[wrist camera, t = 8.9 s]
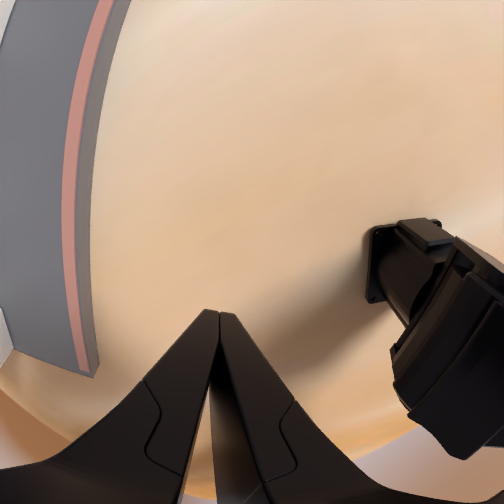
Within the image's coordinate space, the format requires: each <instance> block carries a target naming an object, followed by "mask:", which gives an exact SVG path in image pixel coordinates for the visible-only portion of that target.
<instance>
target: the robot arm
mask: <svg viewBox="0 0 504 504" xmlns="http://www.w3.org/2000/svg"><path fill="white" fill-rule="evenodd" d="M436 224H437V225H436ZM377 231H379V234H378V235H376V236H375V234H376V232H377ZM372 296H373V297H372ZM371 297H372V298H371ZM365 298H366V300H367V302H368V303H370V304H373V303H378V302H383V301H387V303H388V304H389V306H390V307H391V308H392V310H393V311H394V312H395V314H396V315H397V317H398V318H399V320H400V321H401V322H402V324H403V325H404V327H405V328H406V329H405V331H404V332H403V334H402V335H401V337H400V338H399V340H398V341H397V342H396V343H394V344H393V346H392V347H391V349H390V355H391V360H392V369H393V373H394V379H395V381H394V382H393V388H394V390H395V392H396V393H397V396H398V398H399V400H400V402H401V403H402V404H403V406H404V407H405V408H406V409H407V410H408V411H409V413H408V414H407V416H408V418H409V419H411V420H413V421H415V422H416V423H418V424H420V425H422V426H423V427H424V428H425V429H426V430H428V431H429V432H430V433H431V434H432V435H433V436H434V437H435V438H436V439H437V440H438V442H439V443H440V444H441V445H442V447H443V448H444V449H445V450H446V452H447V453H448V454H449V455H451V456H453V457H455V458H458V459H461V460H467V459H468V458H469V457H471V456H472V455H473V454H474V453H475V452H476V451H478V450H479V449H480V448H481V447H495V448H504V264H502V263H501V262H500V261H498V260H497V259H496V258H494V257H493V256H491V255H490V254H488V253H486V252H484V251H483V250H481V249H479V248H477V247H476V246H474V245H472V244H470V243H468V242H467V241H465V240H463V239H461V238H459V237H457V236H456V237H454V236H452V235H451V234H449V233H448V232H446V231H445V230H443V229H442V224H441V222H440V221H439V220H437V219H432V220H428V219H426V218H416V219H407V220H399V221H398V222H397V223H396V224H388V225H379V226H374V227H373V228H372V229H371V231H370V246H369V262H368V275H367V286H366V296H365ZM208 387H209V402H210V420H211V435H212V449H213V462H214V474H215V485H216V495H217V504H504V490H502V491H500V492H499V493H498V494H496V495H495V496H493V497H491V498H490V499H489V500H487V501H484V502H479V503H462V502H454V501H447V500H440V499H434V498H428V497H423V496H419V495H414V494H409V493H405V492H401V491H397V490H393V489H389V488H387V487H385V486H382V485H381V484H378V483H377V482H375V481H374V480H372V479H371V478H370V477H368V476H367V475H366V474H365V473H364V472H363V471H362V470H360V469H359V468H358V467H357V466H356V465H355V464H354V463H353V462H352V461H351V460H350V459H349V458H348V457H347V456H346V455H345V454H344V453H343V452H342V451H341V450H340V449H339V448H337V447H336V446H335V445H334V444H333V443H332V442H331V441H330V440H329V438H328V437H327V436H326V435H325V434H324V433H323V432H322V431H321V430H320V429H319V428H318V427H317V426H316V424H315V423H314V422H313V421H312V420H311V418H310V417H309V416H308V415H307V413H306V412H305V411H304V410H303V408H302V407H301V406H300V404H299V403H298V402H297V401H296V400H295V398H294V396H293V395H292V394H291V392H290V391H289V390H288V388H287V387H286V386H285V384H284V383H283V382H282V380H281V379H280V377H279V376H278V375H277V373H276V372H275V371H274V369H273V368H272V366H271V365H270V364H269V362H268V361H267V359H266V358H265V357H264V355H263V354H262V352H261V351H260V350H259V348H258V347H257V345H256V344H255V342H254V341H253V340H252V338H251V337H250V335H249V334H248V332H247V331H246V329H245V328H244V327H243V325H242V324H241V322H240V321H239V319H238V318H237V316H236V315H235V314H233V313H227V312H220V313H219V312H218V311H215V310H209V309H204V310H203V311H202V312H201V313H200V314H199V315H198V316H197V318H196V319H195V320H194V321H193V322H192V323H191V324H190V325H189V327H188V328H187V329H186V330H185V331H184V332H183V333H182V335H181V336H180V337H179V338H178V339H177V340H176V341H175V342H174V344H173V345H172V346H171V347H170V348H169V349H168V350H167V352H166V353H165V354H164V355H163V356H162V357H161V358H160V359H159V361H158V362H157V363H156V364H155V365H154V366H153V367H152V368H151V370H150V371H149V372H148V373H147V374H146V375H145V376H144V377H143V379H142V380H141V381H140V382H139V383H138V384H137V385H136V386H135V387H134V389H133V390H132V391H131V392H130V393H129V394H128V395H127V396H126V397H125V398H124V399H123V400H122V401H121V402H120V403H119V404H118V405H117V406H116V407H115V408H114V409H112V410H111V411H110V412H109V413H108V414H107V415H106V416H105V417H103V418H102V419H101V420H100V421H99V422H97V423H96V424H95V425H94V426H92V427H91V428H90V429H89V430H87V431H86V432H85V433H84V434H82V435H81V436H80V437H79V438H77V439H76V440H75V441H74V442H72V443H71V444H70V445H69V446H67V447H66V448H65V449H63V450H62V451H61V452H59V453H58V454H56V455H54V456H52V457H50V458H48V459H46V460H43V461H40V462H36V463H32V464H27V465H22V466H16V467H11V468H5V469H0V504H181V502H182V497H183V493H184V489H185V485H186V480H187V476H188V472H189V468H190V463H191V459H192V455H193V450H194V446H195V442H196V438H197V434H198V429H199V425H200V421H201V417H202V413H203V409H204V404H205V400H206V396H207V392H208ZM294 400H295V401H294Z"/></svg>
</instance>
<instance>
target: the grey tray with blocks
mask: <svg viewBox="0 0 504 504" xmlns="http://www.w3.org/2000/svg"><path fill="white" fill-rule="evenodd" d="M130 2H131V0H0V368H1V366H2V365H3V363H4V362H5V360H6V359H7V357H8V356H9V354H10V353H11V351H12V350H13V349H15V350H17V351H20V352H22V353H24V354H27V355H29V356H31V357H34V358H36V359H39V360H41V361H44V362H47V363H49V364H52V365H55V366H58V367H60V368H63V369H66V370H69V371H72V372H75V373H78V374H81V375H84V376H87V377H91V378H94V375H95V373H96V371H97V368H98V366H99V358H98V352H97V344H96V337H95V328H94V319H93V309H92V296H91V279H90V204H91V188H92V175H93V165H94V155H95V147H96V140H97V133H98V126H99V120H100V114H101V108H102V103H103V98H104V93H105V88H106V84H107V79H108V75H109V71H110V67H111V63H112V59H113V55H114V51H115V48H116V44H117V41H118V38H119V34H120V31H121V28H122V25H123V22H124V19H125V16H126V13H127V10H128V7H129V5H130Z"/></svg>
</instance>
